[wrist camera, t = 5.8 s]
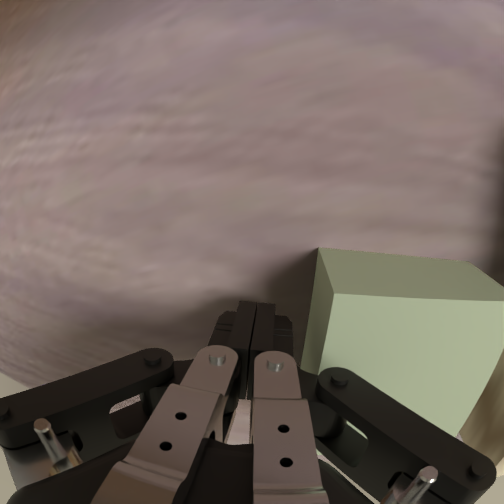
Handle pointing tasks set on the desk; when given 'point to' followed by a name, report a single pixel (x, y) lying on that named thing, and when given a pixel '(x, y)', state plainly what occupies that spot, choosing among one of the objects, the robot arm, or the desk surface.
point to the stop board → (488, 420)
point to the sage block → (407, 329)
